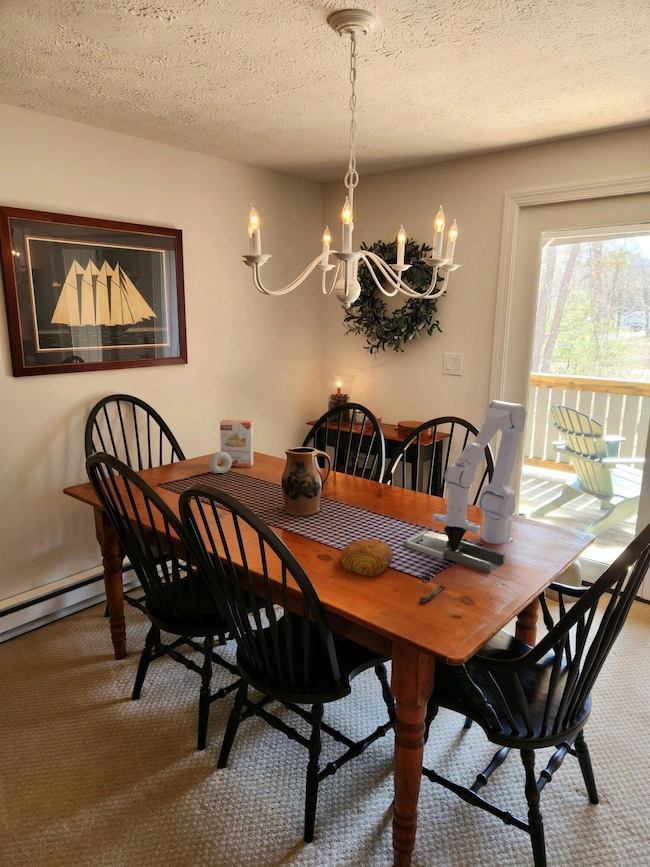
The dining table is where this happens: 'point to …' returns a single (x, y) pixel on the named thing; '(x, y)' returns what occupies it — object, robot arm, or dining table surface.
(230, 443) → the cracker box
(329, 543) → the dining table surface
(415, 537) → the tray
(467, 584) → the dining table surface
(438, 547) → the cream cube
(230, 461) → the donut
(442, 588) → the tactical tomahawk
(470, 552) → the rail
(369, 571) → the croissant
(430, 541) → the beige cube
